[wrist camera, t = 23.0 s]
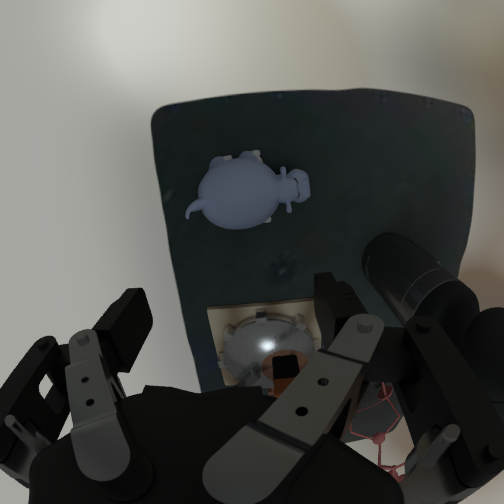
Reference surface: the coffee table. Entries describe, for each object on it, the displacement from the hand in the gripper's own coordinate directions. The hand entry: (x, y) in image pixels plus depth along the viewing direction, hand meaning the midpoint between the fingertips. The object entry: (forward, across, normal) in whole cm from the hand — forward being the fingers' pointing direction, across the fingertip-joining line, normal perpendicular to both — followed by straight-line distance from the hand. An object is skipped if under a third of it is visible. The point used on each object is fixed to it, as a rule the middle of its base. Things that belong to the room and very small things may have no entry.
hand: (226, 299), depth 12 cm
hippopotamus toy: (+28, -1, -1) cm, 28 cm away
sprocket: (+27, 0, +28) cm, 39 cm away
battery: (+24, -4, +30) cm, 39 cm away
